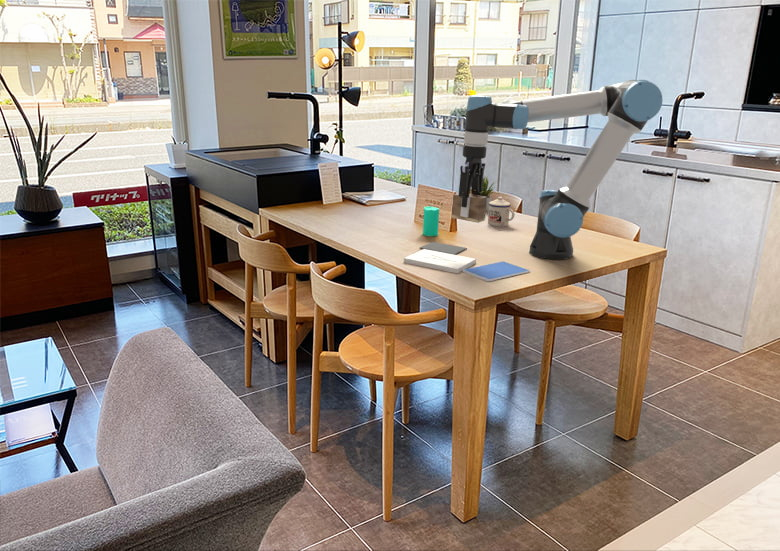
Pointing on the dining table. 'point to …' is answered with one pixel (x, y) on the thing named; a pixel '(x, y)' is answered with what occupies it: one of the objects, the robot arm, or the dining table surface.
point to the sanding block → (470, 208)
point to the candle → (430, 221)
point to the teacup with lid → (499, 212)
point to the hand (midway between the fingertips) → (468, 215)
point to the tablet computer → (495, 271)
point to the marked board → (440, 260)
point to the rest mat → (443, 248)
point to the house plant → (485, 192)
